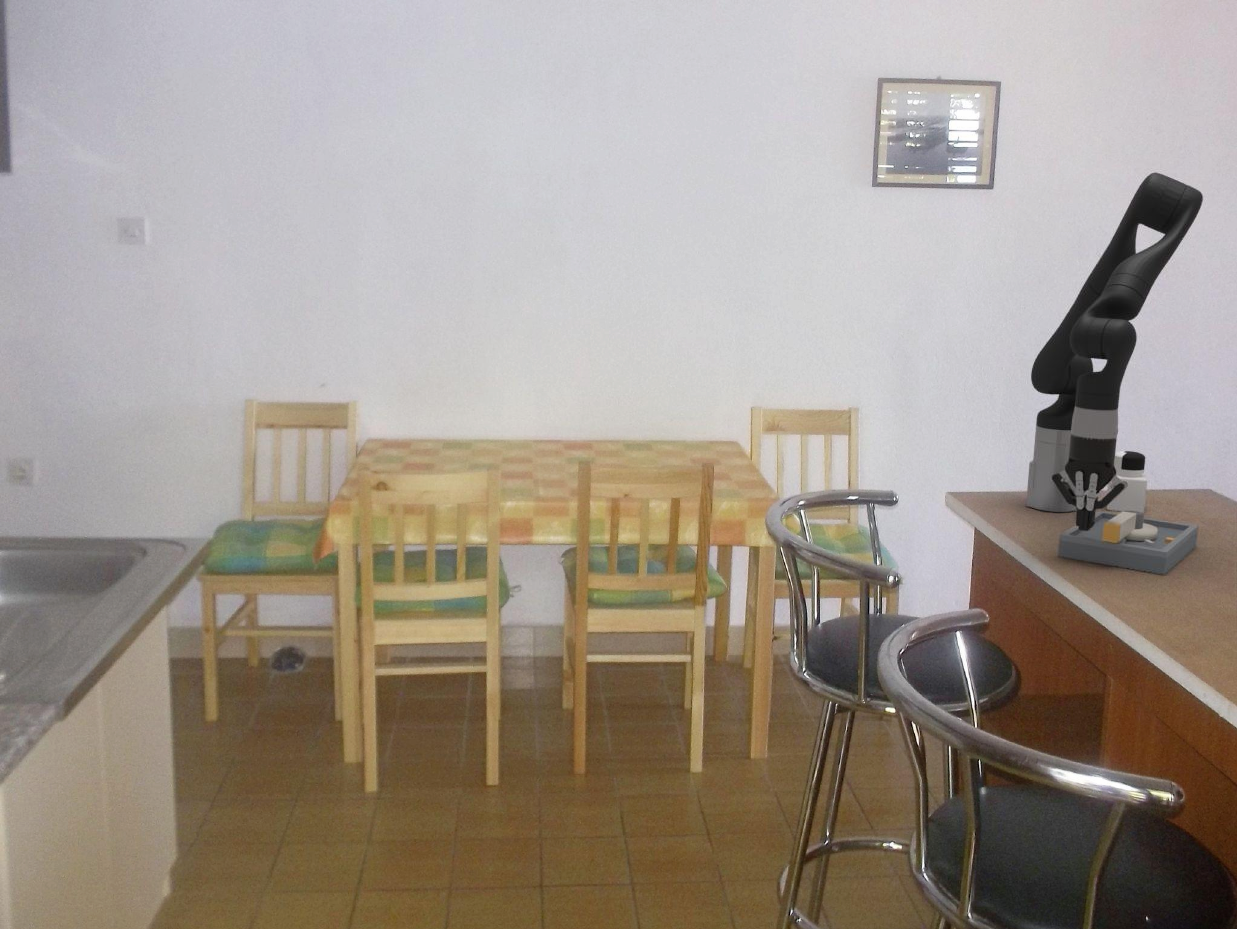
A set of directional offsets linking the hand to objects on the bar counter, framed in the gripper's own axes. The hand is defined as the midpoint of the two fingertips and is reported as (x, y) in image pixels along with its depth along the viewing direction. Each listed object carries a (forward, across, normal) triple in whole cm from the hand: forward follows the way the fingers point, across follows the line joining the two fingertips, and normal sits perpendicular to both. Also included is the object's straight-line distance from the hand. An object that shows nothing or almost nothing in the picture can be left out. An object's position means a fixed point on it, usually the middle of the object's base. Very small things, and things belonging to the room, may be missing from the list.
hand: (1084, 529), depth 217 cm
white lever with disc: (+2, +5, +7) cm, 9 cm away
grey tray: (+6, +5, +12) cm, 14 cm away
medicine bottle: (+6, -5, +48) cm, 48 cm away
